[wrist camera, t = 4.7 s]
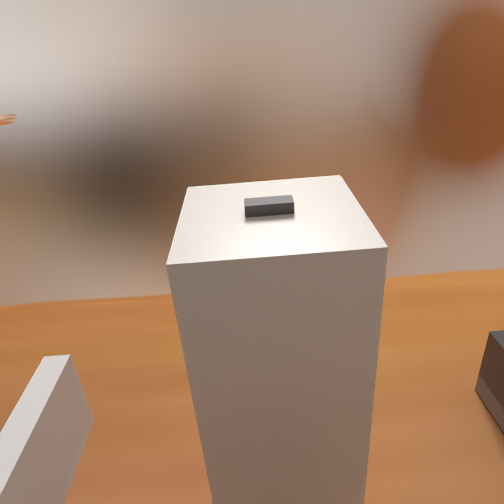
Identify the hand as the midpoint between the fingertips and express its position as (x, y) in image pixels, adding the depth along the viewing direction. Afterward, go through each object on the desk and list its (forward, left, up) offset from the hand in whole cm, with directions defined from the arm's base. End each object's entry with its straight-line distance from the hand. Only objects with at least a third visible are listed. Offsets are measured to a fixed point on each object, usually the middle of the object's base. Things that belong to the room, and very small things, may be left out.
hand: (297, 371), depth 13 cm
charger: (-1, 0, -7) cm, 7 cm away
